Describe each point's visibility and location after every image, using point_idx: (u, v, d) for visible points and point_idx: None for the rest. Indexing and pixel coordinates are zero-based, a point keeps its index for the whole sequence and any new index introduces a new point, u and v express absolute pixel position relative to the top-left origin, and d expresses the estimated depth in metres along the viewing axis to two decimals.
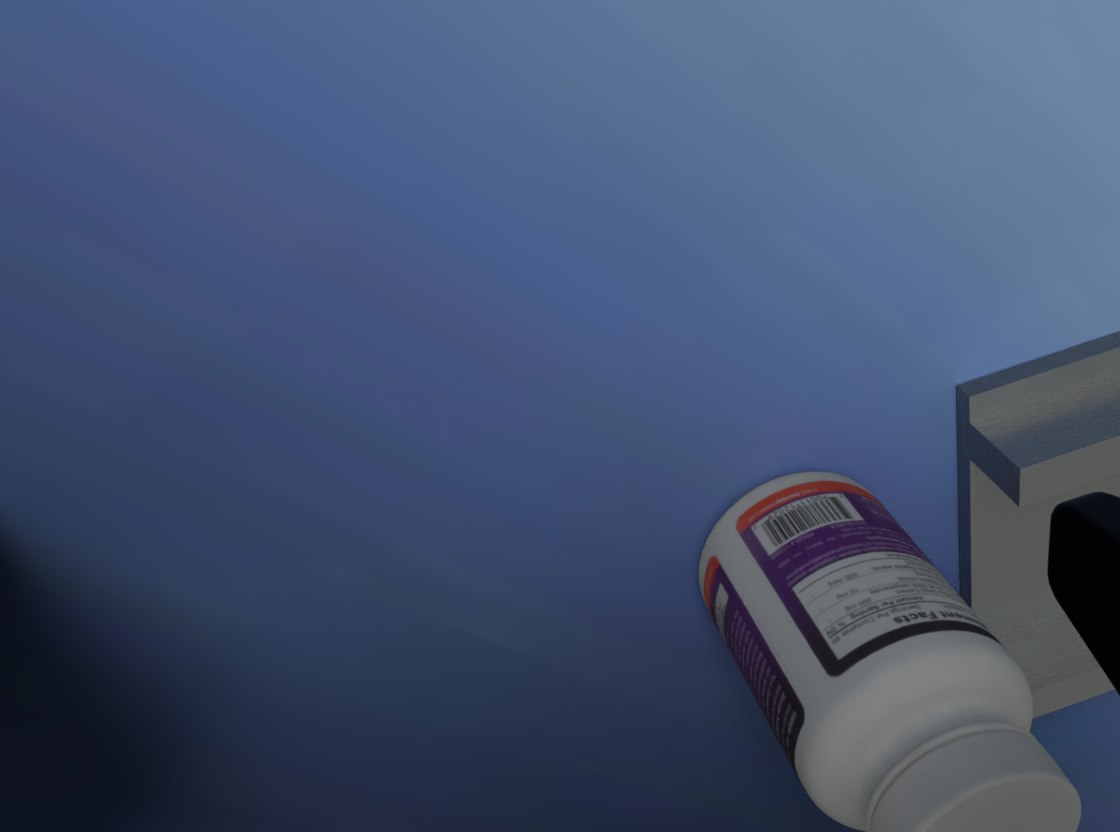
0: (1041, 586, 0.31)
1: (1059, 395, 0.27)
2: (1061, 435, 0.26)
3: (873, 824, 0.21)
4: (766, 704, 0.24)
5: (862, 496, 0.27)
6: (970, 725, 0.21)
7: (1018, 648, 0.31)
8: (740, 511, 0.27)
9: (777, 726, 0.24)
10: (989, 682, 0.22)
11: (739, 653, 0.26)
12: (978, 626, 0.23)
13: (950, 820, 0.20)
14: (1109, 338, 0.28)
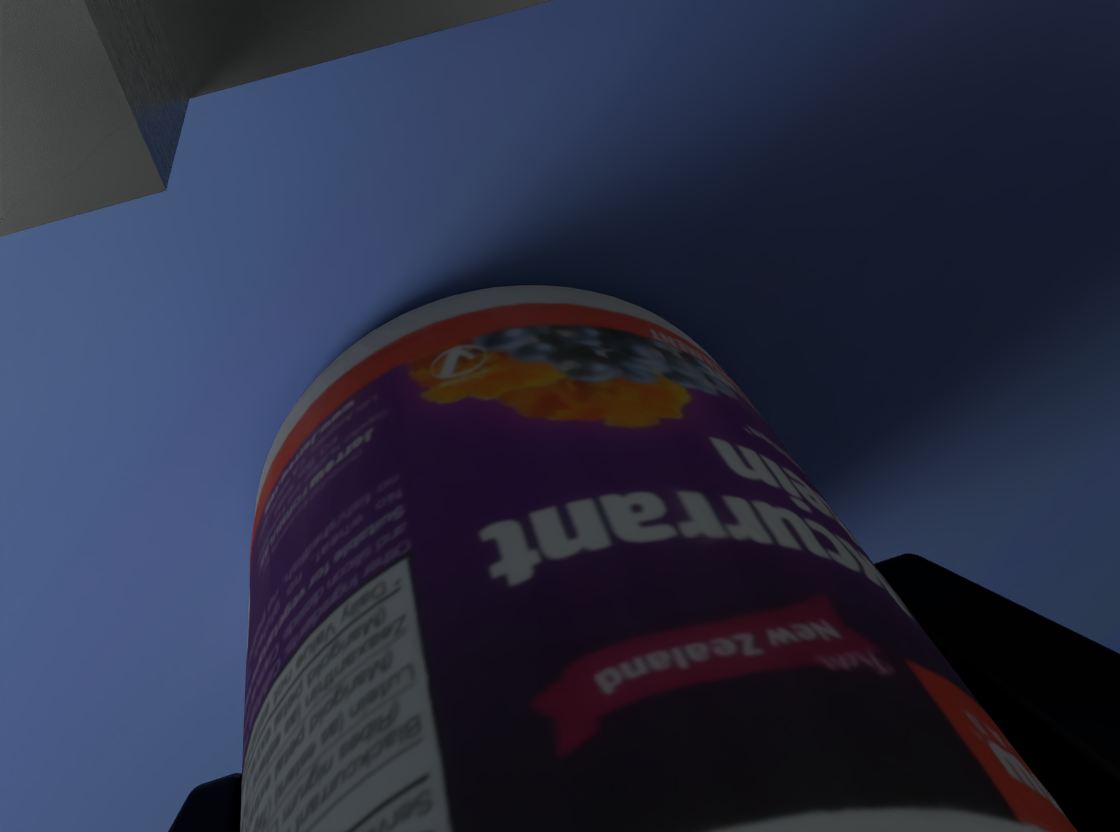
0: None
1: None
2: None
3: None
4: None
5: (267, 503, 0.09)
6: None
7: None
8: None
9: None
10: None
11: None
12: None
13: None
14: None
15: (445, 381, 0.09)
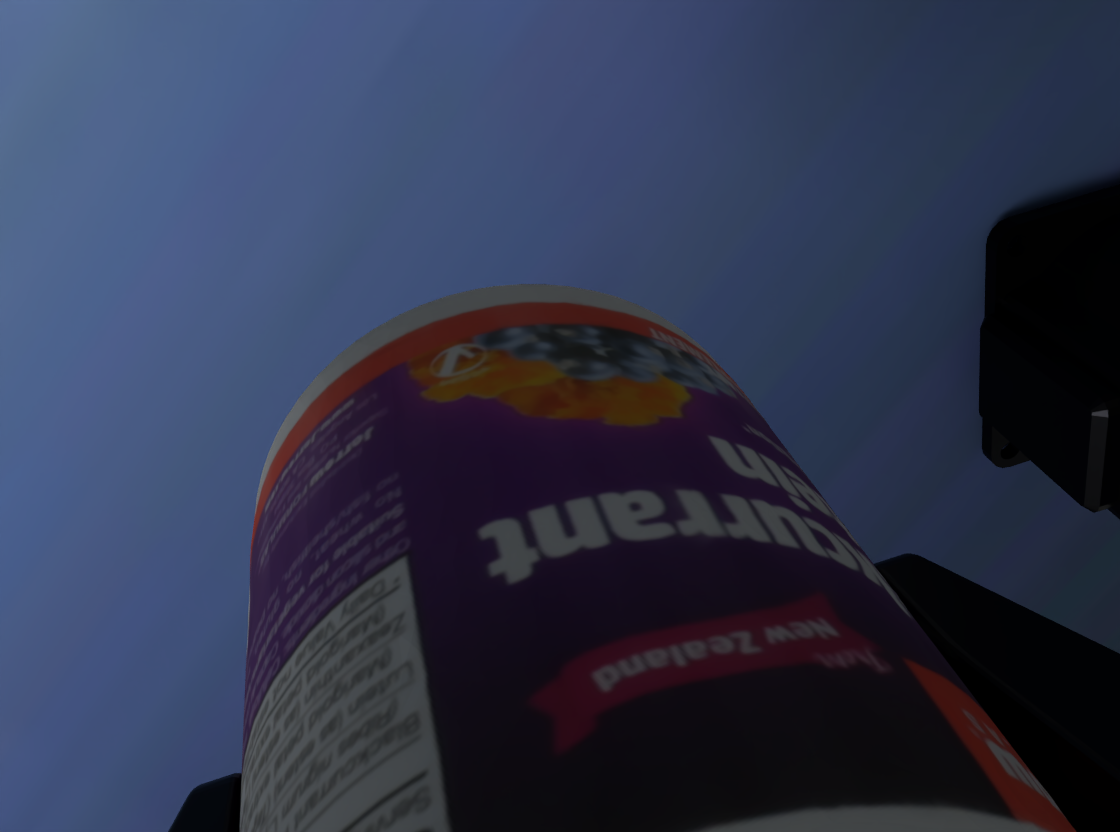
0: None
1: None
2: None
3: None
4: None
5: (267, 501, 0.09)
6: None
7: None
8: None
9: None
10: None
11: None
12: None
13: None
14: None
15: (444, 380, 0.09)
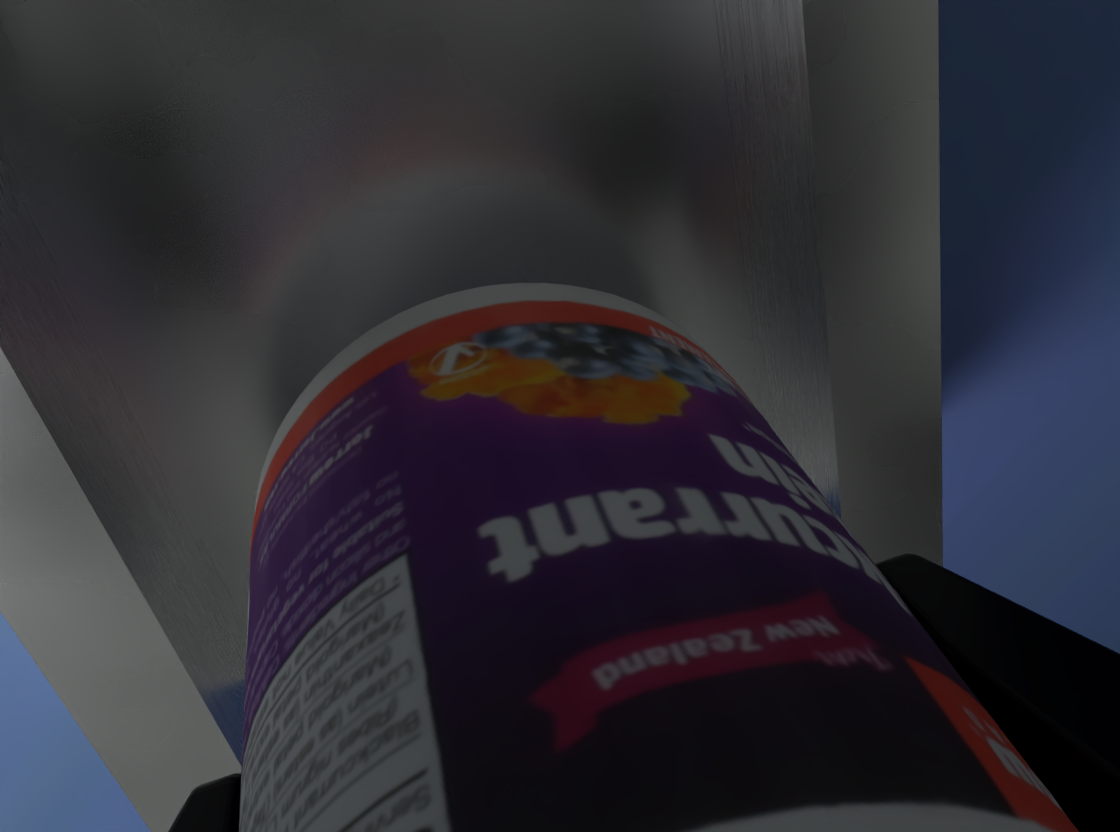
0: None
1: None
2: None
3: None
4: None
5: (266, 500, 0.09)
6: None
7: None
8: None
9: None
10: None
11: None
12: None
13: None
14: None
15: (443, 378, 0.09)
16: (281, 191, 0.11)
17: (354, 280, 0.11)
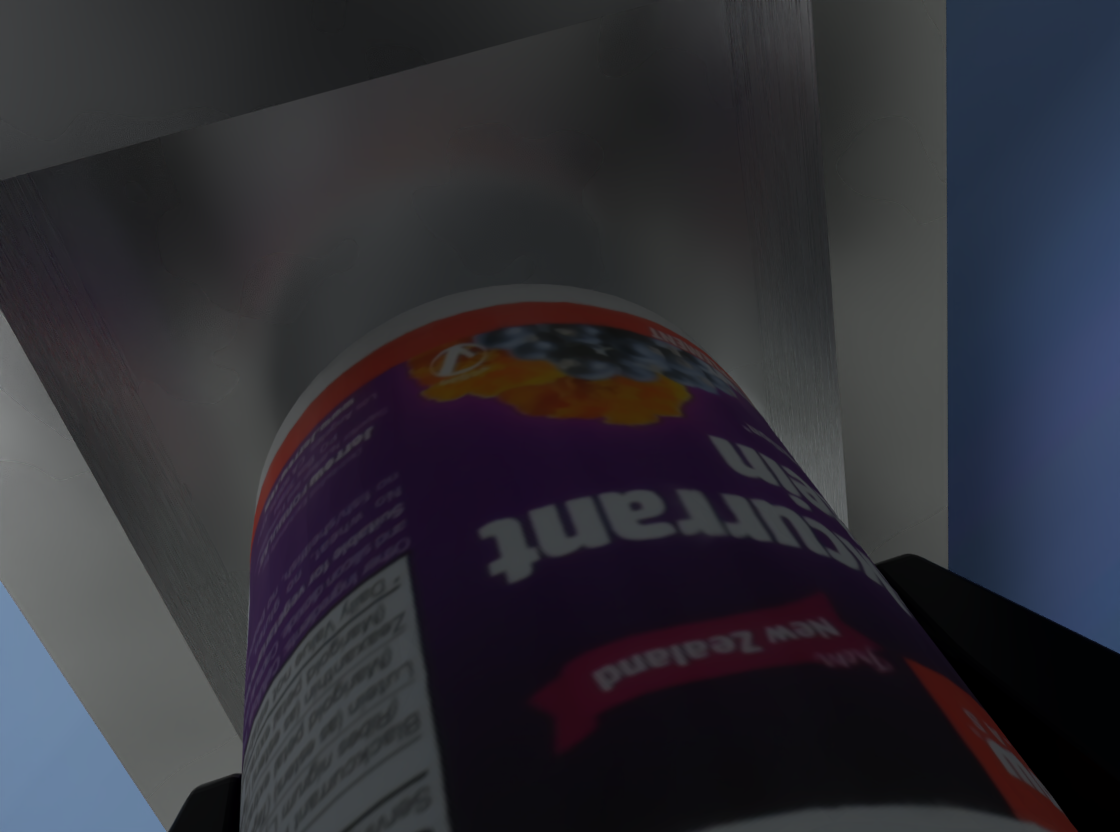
0: None
1: None
2: None
3: None
4: None
5: (267, 502, 0.09)
6: None
7: None
8: None
9: None
10: None
11: None
12: None
13: None
14: None
15: (443, 378, 0.09)
16: None
17: None
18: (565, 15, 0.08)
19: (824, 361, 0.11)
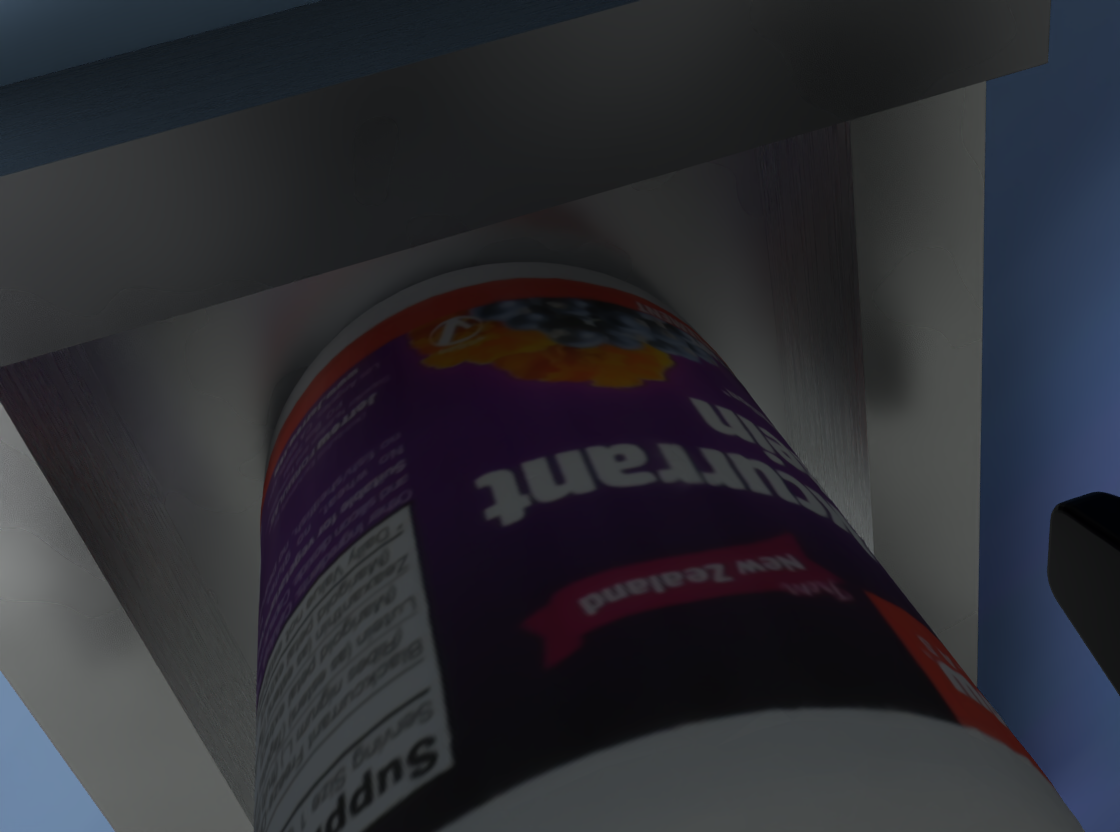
0: None
1: None
2: None
3: None
4: None
5: (276, 467, 0.10)
6: None
7: None
8: None
9: None
10: None
11: None
12: None
13: None
14: None
15: (441, 348, 0.09)
16: None
17: None
18: (608, 180, 0.08)
19: (856, 476, 0.11)
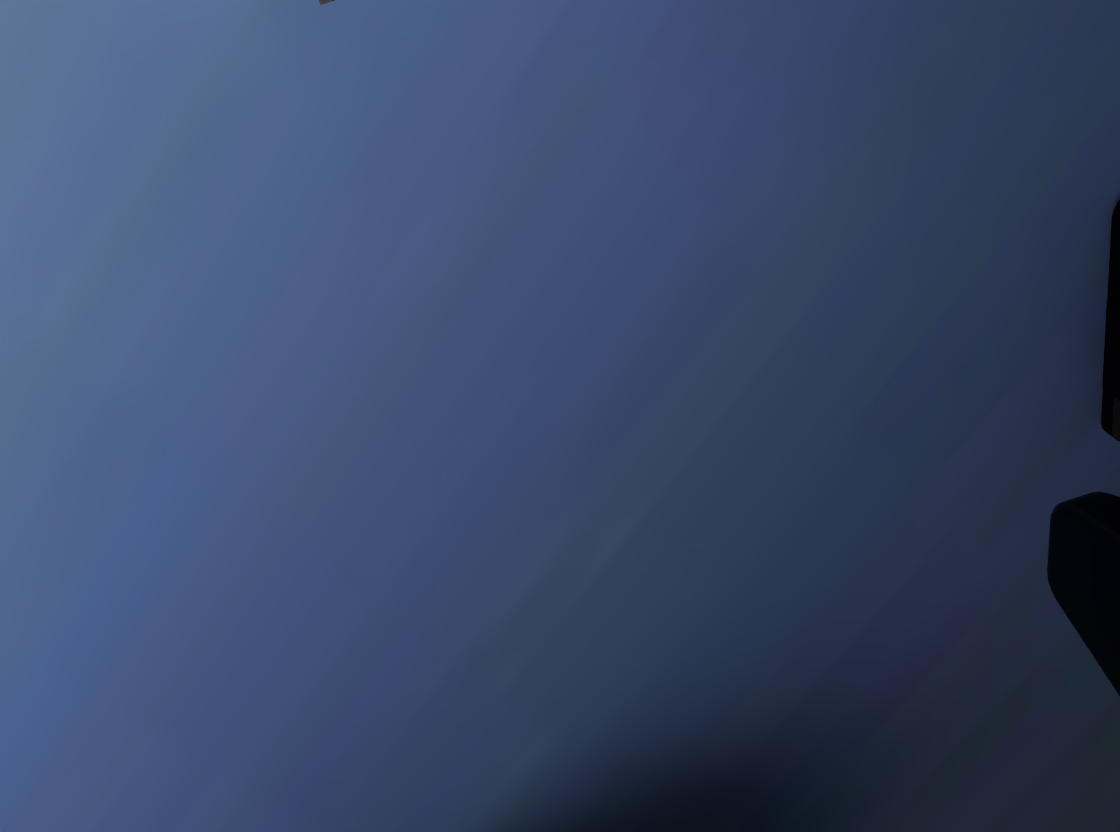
0: None
1: None
2: None
3: None
4: None
5: None
6: None
7: None
8: None
9: None
10: None
11: None
12: None
13: None
14: None
15: None
16: None
17: None
18: None
19: None
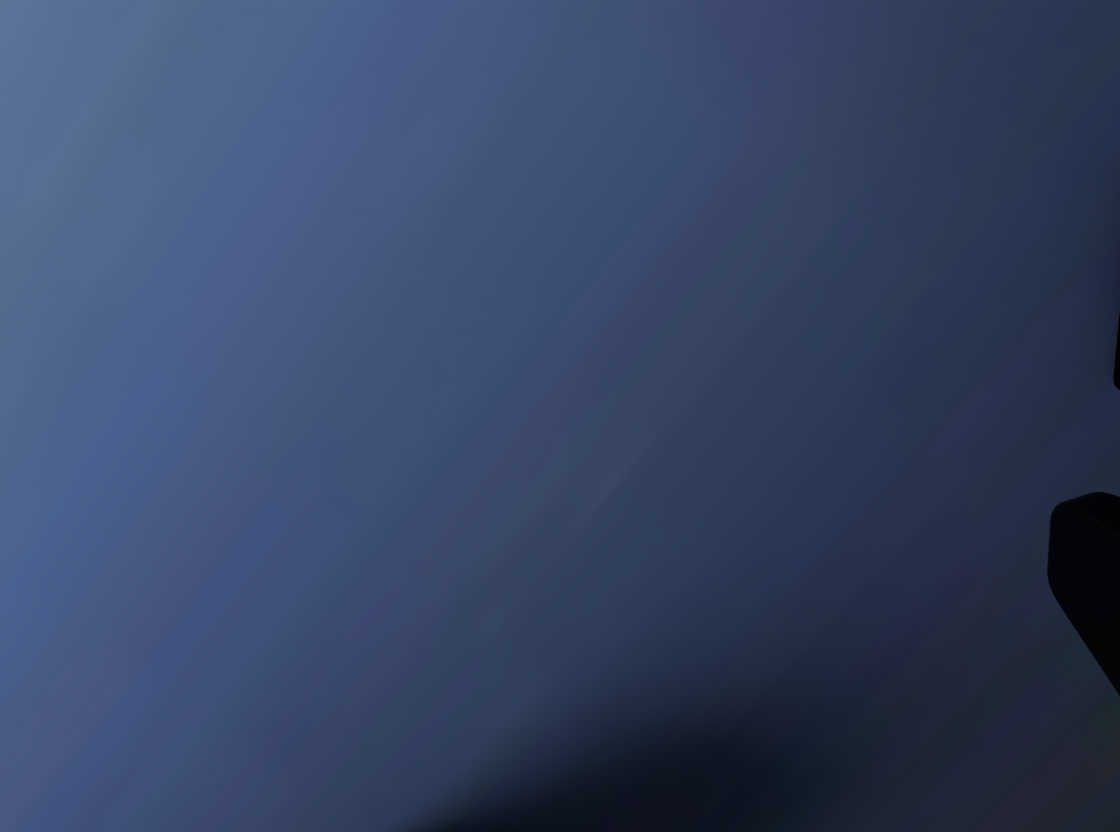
0: None
1: None
2: None
3: None
4: None
5: None
6: None
7: None
8: None
9: None
10: None
11: None
12: None
13: None
14: None
15: None
16: None
17: None
18: None
19: None
